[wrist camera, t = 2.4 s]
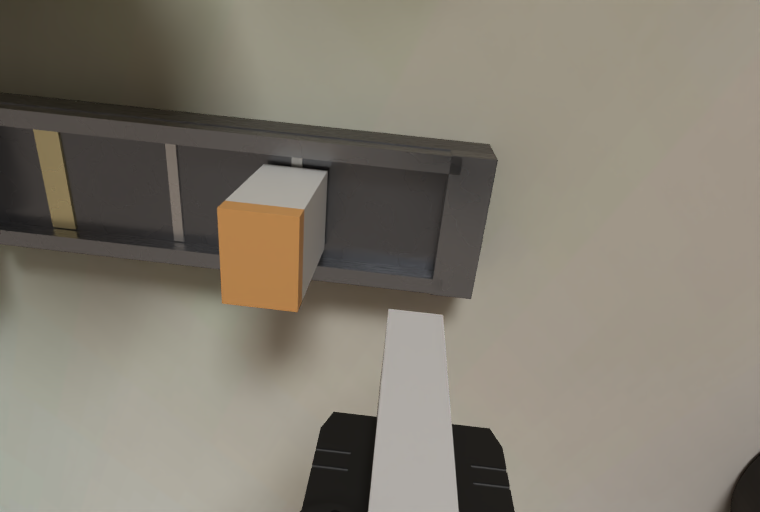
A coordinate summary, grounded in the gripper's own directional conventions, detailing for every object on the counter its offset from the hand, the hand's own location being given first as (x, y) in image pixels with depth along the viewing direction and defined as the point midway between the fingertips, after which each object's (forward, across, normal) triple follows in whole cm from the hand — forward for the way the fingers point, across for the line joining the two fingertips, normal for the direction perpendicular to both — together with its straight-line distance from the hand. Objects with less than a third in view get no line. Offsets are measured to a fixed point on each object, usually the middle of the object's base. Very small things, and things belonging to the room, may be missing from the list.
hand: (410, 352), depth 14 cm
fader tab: (+11, +6, 0) cm, 12 cm away
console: (+13, +11, 0) cm, 17 cm away
